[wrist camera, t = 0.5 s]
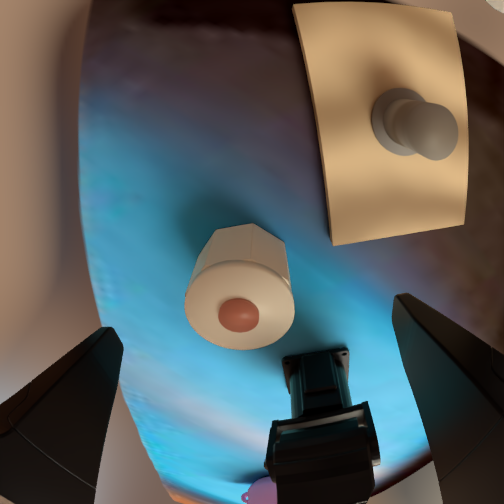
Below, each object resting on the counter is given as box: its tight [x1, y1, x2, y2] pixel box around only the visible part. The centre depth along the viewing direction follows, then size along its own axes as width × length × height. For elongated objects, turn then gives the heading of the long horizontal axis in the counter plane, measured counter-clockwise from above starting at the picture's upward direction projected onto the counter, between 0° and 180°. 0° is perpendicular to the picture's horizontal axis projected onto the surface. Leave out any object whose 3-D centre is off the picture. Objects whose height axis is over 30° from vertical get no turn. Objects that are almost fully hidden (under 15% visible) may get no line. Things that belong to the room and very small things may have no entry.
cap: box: [185, 223, 295, 350], centre depth 20 cm, size 7×7×6 cm
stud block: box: [292, 2, 468, 246], centre depth 14 cm, size 16×11×5 cm
